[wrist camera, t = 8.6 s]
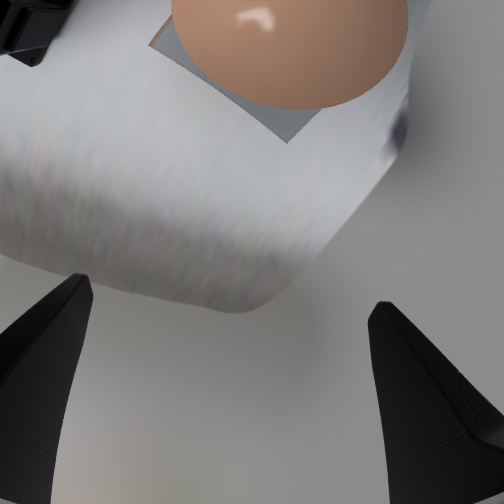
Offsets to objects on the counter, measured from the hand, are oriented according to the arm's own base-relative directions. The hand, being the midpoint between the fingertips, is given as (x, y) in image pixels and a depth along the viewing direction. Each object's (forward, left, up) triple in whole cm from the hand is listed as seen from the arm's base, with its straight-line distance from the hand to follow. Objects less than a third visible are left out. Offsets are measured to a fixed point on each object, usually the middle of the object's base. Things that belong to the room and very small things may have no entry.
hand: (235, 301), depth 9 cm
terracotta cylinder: (-4, +7, -6) cm, 10 cm away
